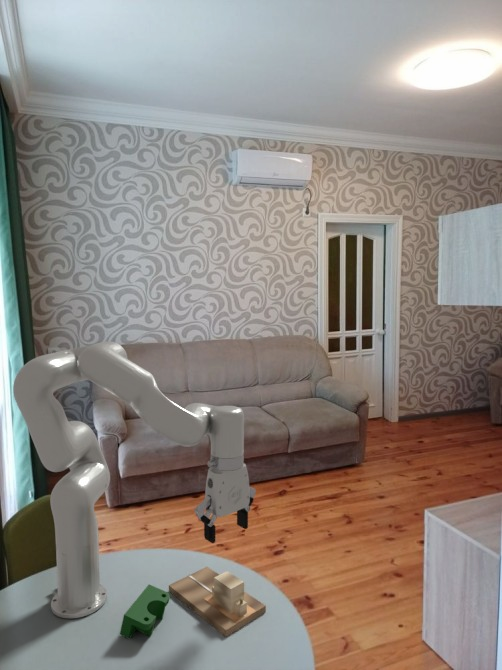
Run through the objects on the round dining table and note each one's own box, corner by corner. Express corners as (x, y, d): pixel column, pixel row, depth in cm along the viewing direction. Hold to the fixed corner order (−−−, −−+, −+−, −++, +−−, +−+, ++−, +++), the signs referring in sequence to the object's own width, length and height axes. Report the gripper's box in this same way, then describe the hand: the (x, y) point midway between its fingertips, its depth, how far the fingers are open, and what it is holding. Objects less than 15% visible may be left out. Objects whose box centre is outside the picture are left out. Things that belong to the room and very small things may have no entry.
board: (168, 590, 120) (168, 584, 120) (207, 571, 128) (207, 566, 128) (226, 636, 104) (226, 629, 104) (265, 611, 112) (265, 605, 112)
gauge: (208, 598, 114) (208, 574, 114) (221, 591, 117) (221, 567, 116) (236, 618, 107) (236, 593, 106) (250, 610, 110) (250, 585, 109)
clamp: (144, 656, 104) (144, 634, 99) (120, 645, 105) (119, 622, 101) (171, 605, 114) (172, 583, 109) (149, 595, 115) (149, 573, 111)
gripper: (206, 475, 101) (206, 553, 102) (265, 456, 113) (264, 527, 114) (186, 465, 106) (186, 540, 108) (244, 449, 118) (243, 516, 120)
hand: (226, 533), depth 111 cm, fingers open, 9 cm apart
